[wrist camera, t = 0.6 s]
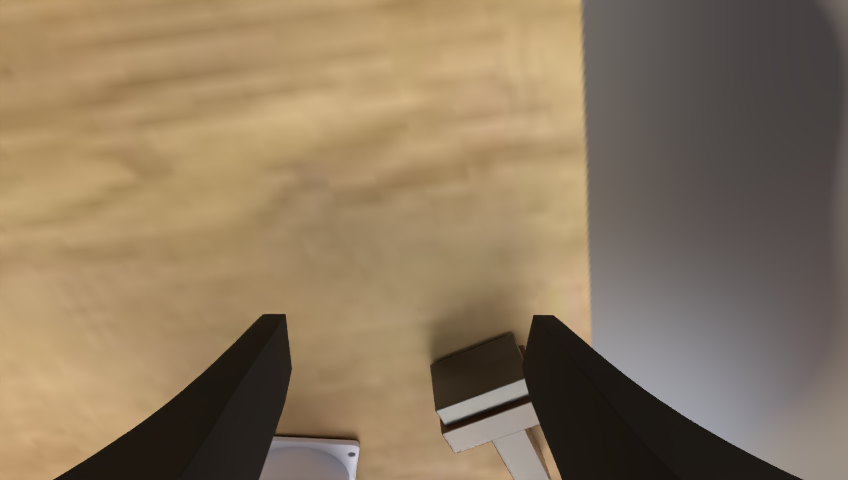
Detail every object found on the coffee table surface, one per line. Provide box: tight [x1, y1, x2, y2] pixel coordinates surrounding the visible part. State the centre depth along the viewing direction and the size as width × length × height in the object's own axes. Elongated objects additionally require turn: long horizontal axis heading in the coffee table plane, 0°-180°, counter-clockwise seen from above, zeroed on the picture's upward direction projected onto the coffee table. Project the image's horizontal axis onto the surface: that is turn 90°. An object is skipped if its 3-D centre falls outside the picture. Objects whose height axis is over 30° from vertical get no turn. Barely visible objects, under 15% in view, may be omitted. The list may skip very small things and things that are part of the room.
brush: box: [430, 334, 551, 480], centre depth 26 cm, size 6×12×4 cm, turn 24°
